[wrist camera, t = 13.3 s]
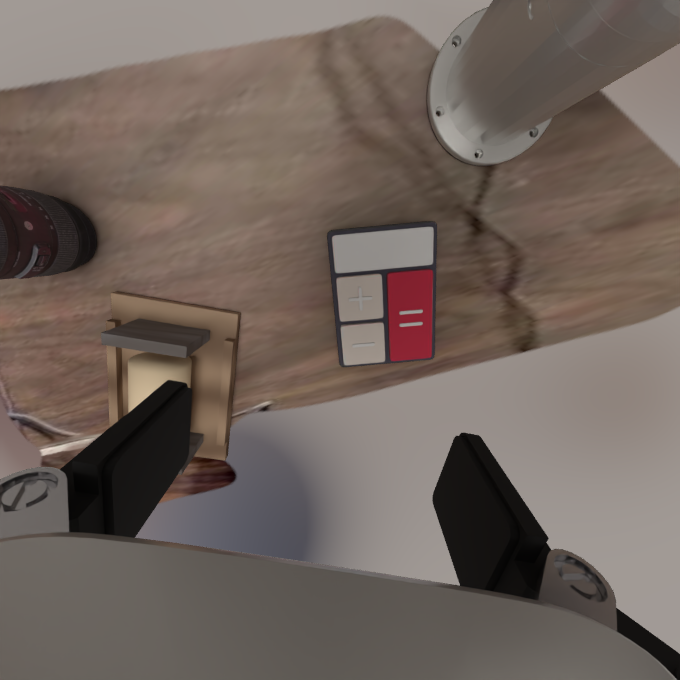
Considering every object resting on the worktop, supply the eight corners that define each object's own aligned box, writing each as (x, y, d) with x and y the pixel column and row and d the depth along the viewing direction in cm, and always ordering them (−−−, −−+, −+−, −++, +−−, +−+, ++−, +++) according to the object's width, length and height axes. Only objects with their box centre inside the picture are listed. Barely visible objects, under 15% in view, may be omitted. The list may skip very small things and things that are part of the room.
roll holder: (116, 291, 36) (66, 302, 29) (240, 312, 37) (219, 328, 30) (120, 440, 41) (79, 478, 35) (227, 455, 42) (207, 495, 36)
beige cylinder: (176, 347, 38) (118, 355, 33) (202, 366, 35) (141, 377, 30) (174, 419, 41) (120, 435, 36) (197, 442, 37) (141, 463, 33)
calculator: (340, 371, 35) (326, 231, 30) (339, 356, 39) (327, 230, 34) (436, 362, 35) (440, 220, 30) (426, 348, 39) (427, 221, 34)
